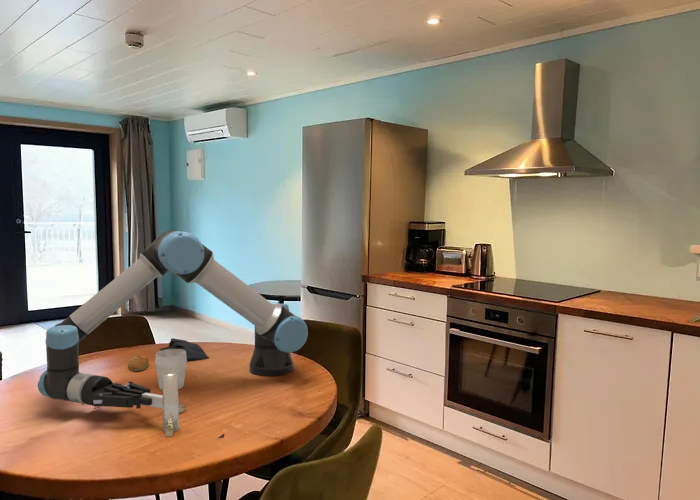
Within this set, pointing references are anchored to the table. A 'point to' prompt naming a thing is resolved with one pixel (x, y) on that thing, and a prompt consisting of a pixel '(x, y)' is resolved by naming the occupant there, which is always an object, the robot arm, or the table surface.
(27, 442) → the table surface
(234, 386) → the table surface
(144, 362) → the pastry
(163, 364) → the cup
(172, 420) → the tuning peg
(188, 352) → the dark grey crumpled cloth
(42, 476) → the table surface
